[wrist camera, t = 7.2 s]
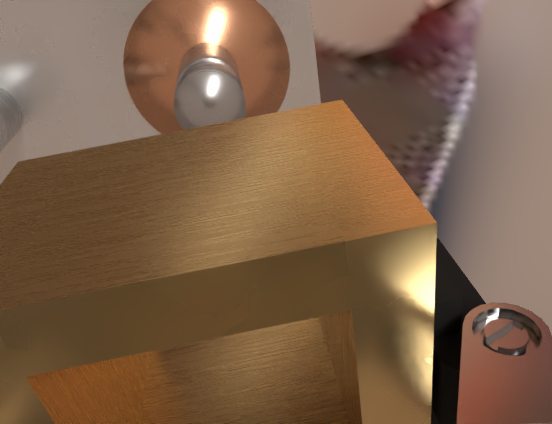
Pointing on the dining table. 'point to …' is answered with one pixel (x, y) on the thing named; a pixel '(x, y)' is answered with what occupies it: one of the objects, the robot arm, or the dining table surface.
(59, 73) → the peg board
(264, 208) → the gold square frame
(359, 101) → the dining table surface
